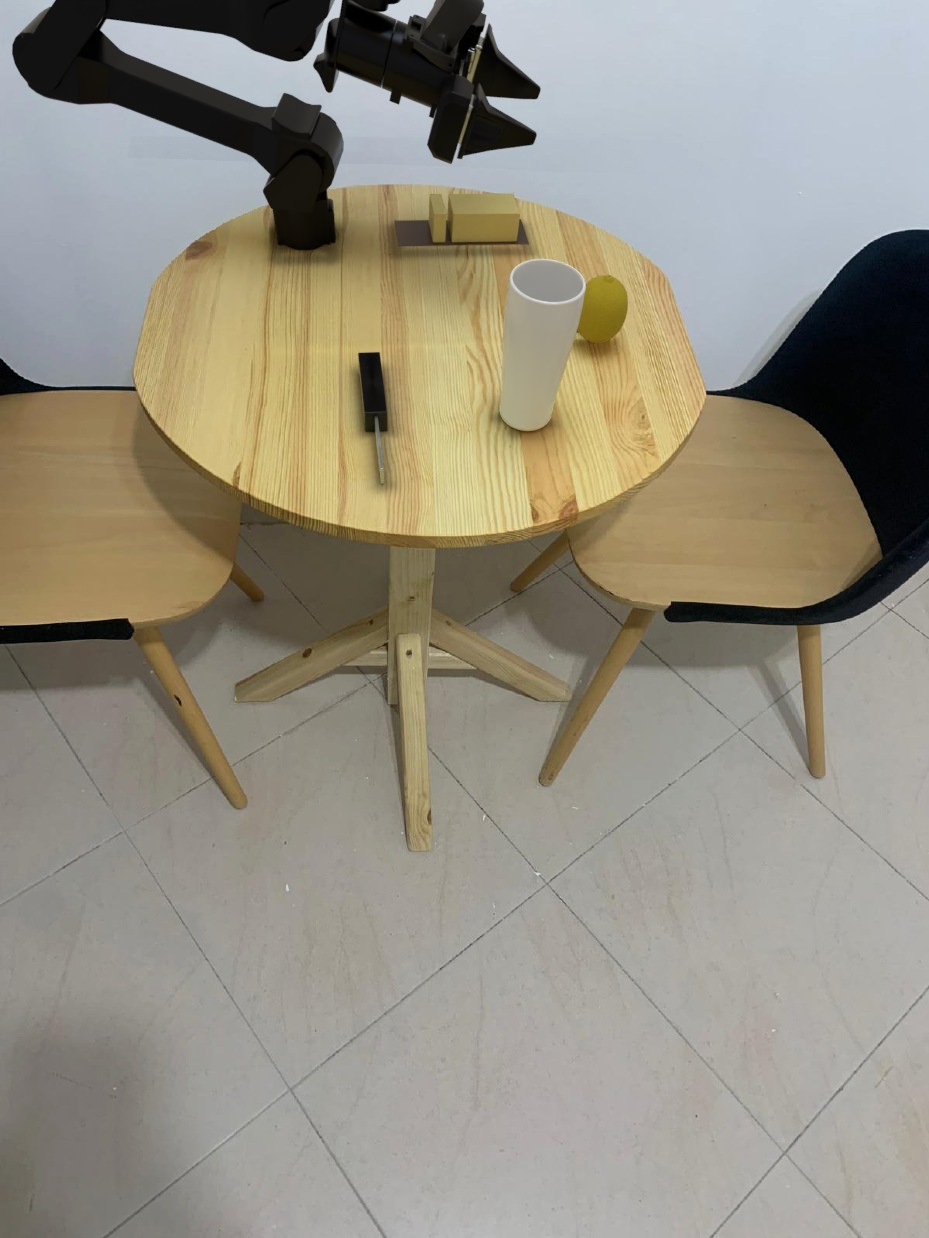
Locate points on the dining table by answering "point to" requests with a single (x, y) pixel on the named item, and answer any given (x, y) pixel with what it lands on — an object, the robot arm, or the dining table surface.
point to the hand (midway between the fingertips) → (537, 115)
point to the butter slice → (437, 218)
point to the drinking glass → (537, 339)
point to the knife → (373, 399)
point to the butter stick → (483, 217)
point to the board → (421, 235)
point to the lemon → (603, 309)
